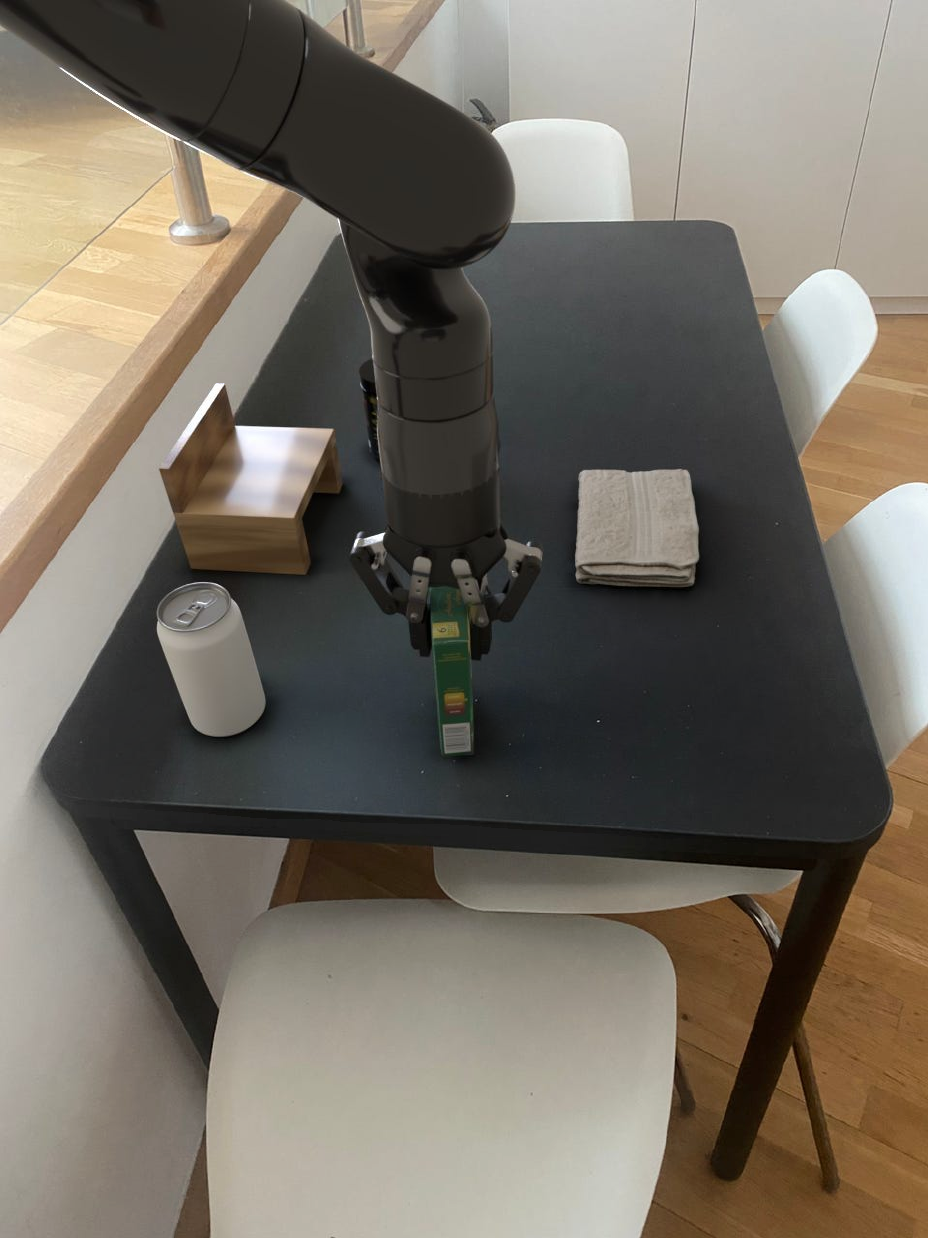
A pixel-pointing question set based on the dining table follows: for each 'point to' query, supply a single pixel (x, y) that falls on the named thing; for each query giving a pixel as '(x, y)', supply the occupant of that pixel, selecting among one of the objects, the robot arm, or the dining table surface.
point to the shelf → (246, 489)
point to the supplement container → (370, 404)
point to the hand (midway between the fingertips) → (452, 650)
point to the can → (210, 658)
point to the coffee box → (452, 670)
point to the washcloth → (636, 528)
